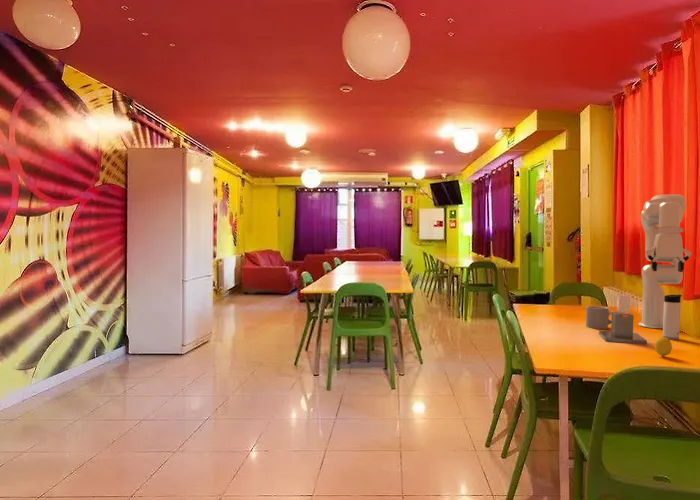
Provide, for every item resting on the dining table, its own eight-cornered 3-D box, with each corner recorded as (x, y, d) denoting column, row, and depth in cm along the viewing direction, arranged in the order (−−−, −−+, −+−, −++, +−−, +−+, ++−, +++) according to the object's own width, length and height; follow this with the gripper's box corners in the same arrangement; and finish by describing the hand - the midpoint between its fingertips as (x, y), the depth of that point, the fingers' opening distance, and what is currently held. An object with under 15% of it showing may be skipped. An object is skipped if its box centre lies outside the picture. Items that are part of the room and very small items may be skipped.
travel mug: (682, 340, 220) (684, 295, 219) (666, 339, 221) (667, 295, 220) (676, 337, 226) (677, 293, 225) (660, 336, 227) (661, 293, 226)
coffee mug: (585, 327, 246) (585, 307, 246) (586, 324, 255) (587, 305, 255) (615, 330, 240) (616, 310, 239) (616, 327, 248) (616, 307, 248)
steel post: (615, 333, 224) (617, 294, 223) (625, 334, 223) (627, 294, 222) (617, 335, 220) (619, 295, 219) (628, 336, 219) (629, 296, 218)
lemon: (651, 355, 193) (652, 334, 192) (664, 354, 193) (665, 334, 193) (661, 358, 187) (662, 338, 187) (675, 358, 188) (675, 337, 187)
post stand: (598, 333, 231) (599, 309, 231) (637, 336, 227) (637, 311, 226) (605, 341, 216) (606, 315, 216) (646, 344, 211) (647, 317, 211)
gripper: (688, 231, 211) (686, 271, 212) (643, 231, 216) (641, 270, 217) (695, 231, 204) (694, 272, 205) (648, 231, 209) (647, 271, 209)
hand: (667, 271), depth 211 cm, fingers open, 9 cm apart
